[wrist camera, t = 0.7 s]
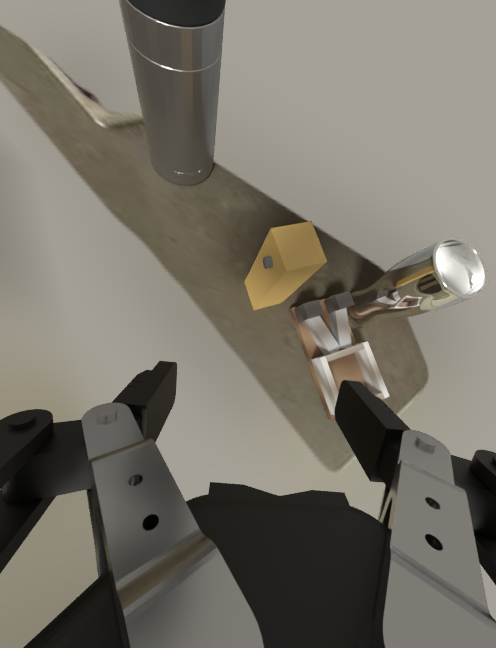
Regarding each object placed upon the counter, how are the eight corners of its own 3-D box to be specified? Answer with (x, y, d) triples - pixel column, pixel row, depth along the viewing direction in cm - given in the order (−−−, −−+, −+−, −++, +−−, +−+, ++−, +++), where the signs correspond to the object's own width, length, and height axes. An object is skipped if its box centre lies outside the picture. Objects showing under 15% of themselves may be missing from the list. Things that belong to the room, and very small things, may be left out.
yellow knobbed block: (240, 282, 35) (264, 229, 23) (275, 274, 36) (316, 220, 24) (249, 311, 34) (280, 272, 22) (285, 301, 36) (332, 260, 23)
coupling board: (289, 309, 36) (300, 301, 32) (333, 297, 38) (349, 288, 34) (328, 418, 33) (345, 423, 29) (373, 399, 35) (395, 401, 31)
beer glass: (337, 321, 37) (428, 283, 22) (347, 281, 39) (435, 224, 24) (377, 337, 38) (489, 310, 23) (384, 297, 39) (491, 251, 25)
